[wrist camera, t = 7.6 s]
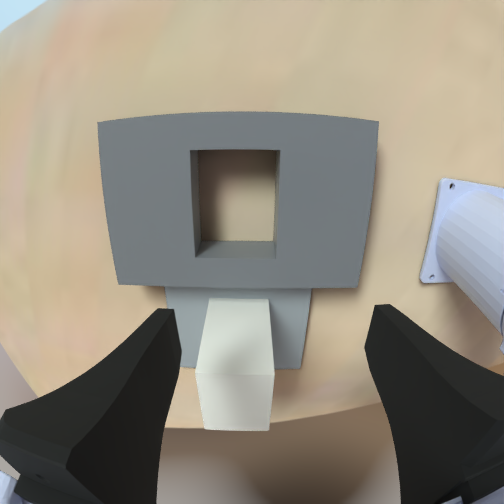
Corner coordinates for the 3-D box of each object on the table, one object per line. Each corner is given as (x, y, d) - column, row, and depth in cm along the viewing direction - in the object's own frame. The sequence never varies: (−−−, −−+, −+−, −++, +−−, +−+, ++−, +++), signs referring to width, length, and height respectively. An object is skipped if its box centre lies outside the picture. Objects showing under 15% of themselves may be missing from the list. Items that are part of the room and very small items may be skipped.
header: (363, 119, 17) (378, 121, 14) (347, 268, 21) (357, 287, 19) (115, 120, 17) (97, 122, 14) (130, 266, 21) (118, 284, 19)
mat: (310, 281, 21) (311, 285, 21) (299, 363, 25) (300, 368, 24) (165, 279, 21) (164, 284, 21) (179, 361, 25) (178, 366, 24)
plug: (268, 298, 21) (274, 374, 15) (265, 356, 24) (268, 430, 17) (209, 298, 21) (195, 372, 15) (213, 355, 24) (204, 429, 17)
